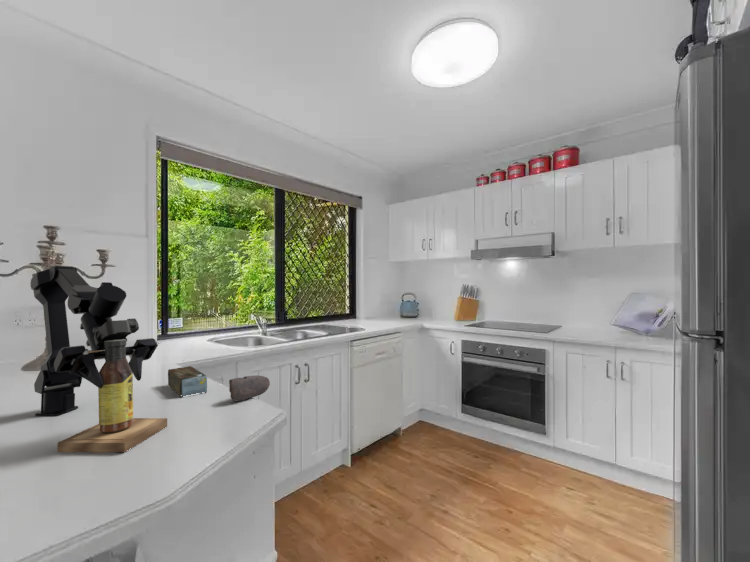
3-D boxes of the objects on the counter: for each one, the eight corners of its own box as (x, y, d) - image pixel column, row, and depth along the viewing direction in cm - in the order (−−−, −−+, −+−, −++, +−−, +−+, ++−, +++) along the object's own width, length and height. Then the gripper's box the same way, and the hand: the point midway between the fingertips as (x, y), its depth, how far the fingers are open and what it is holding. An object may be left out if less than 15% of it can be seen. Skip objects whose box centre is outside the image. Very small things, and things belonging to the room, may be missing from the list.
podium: (57, 452, 71) (57, 442, 71) (110, 426, 85) (111, 417, 85) (124, 452, 70) (124, 442, 70) (167, 426, 84) (167, 417, 84)
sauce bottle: (136, 427, 78) (136, 339, 78) (101, 436, 73) (101, 342, 74) (129, 420, 82) (129, 337, 83) (95, 428, 78) (96, 340, 78)
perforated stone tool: (264, 391, 116) (264, 370, 116) (274, 393, 113) (274, 372, 113) (222, 402, 104) (222, 379, 104) (232, 405, 101) (232, 381, 101)
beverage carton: (180, 398, 108) (180, 377, 108) (166, 386, 122) (167, 368, 122) (207, 393, 113) (207, 373, 113) (191, 382, 127) (191, 364, 128)
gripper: (60, 309, 73) (80, 368, 67) (154, 306, 89) (178, 353, 83) (45, 344, 76) (63, 402, 70) (138, 335, 92) (159, 382, 86)
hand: (121, 383), depth 77 cm, fingers open, 7 cm apart
